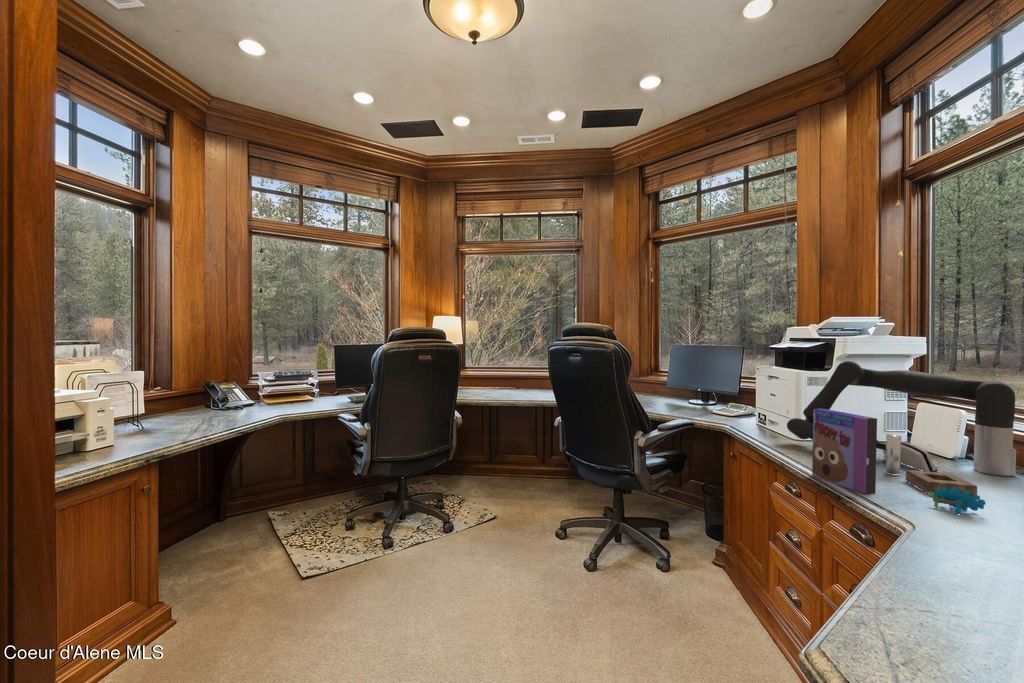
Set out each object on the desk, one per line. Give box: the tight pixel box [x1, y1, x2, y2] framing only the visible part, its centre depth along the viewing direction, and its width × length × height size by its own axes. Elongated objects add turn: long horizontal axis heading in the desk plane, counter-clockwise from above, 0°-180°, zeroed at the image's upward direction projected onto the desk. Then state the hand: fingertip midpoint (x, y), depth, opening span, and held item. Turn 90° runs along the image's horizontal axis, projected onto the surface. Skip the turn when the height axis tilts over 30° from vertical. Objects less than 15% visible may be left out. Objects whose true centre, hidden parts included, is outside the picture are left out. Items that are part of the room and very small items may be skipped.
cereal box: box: [811, 409, 878, 495], centre depth 141 cm, size 17×5×24 cm, turn 14°
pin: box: [884, 433, 902, 475], centre depth 152 cm, size 4×4×14 cm
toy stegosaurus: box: [928, 487, 986, 515], centre depth 119 cm, size 11×6×10 cm
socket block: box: [905, 469, 978, 497], centre depth 137 cm, size 12×12×4 cm
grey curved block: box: [882, 441, 940, 472], centre depth 161 cm, size 17×5×10 cm, turn 3°
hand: (876, 447), depth 157 cm, fingers open, 8 cm apart
